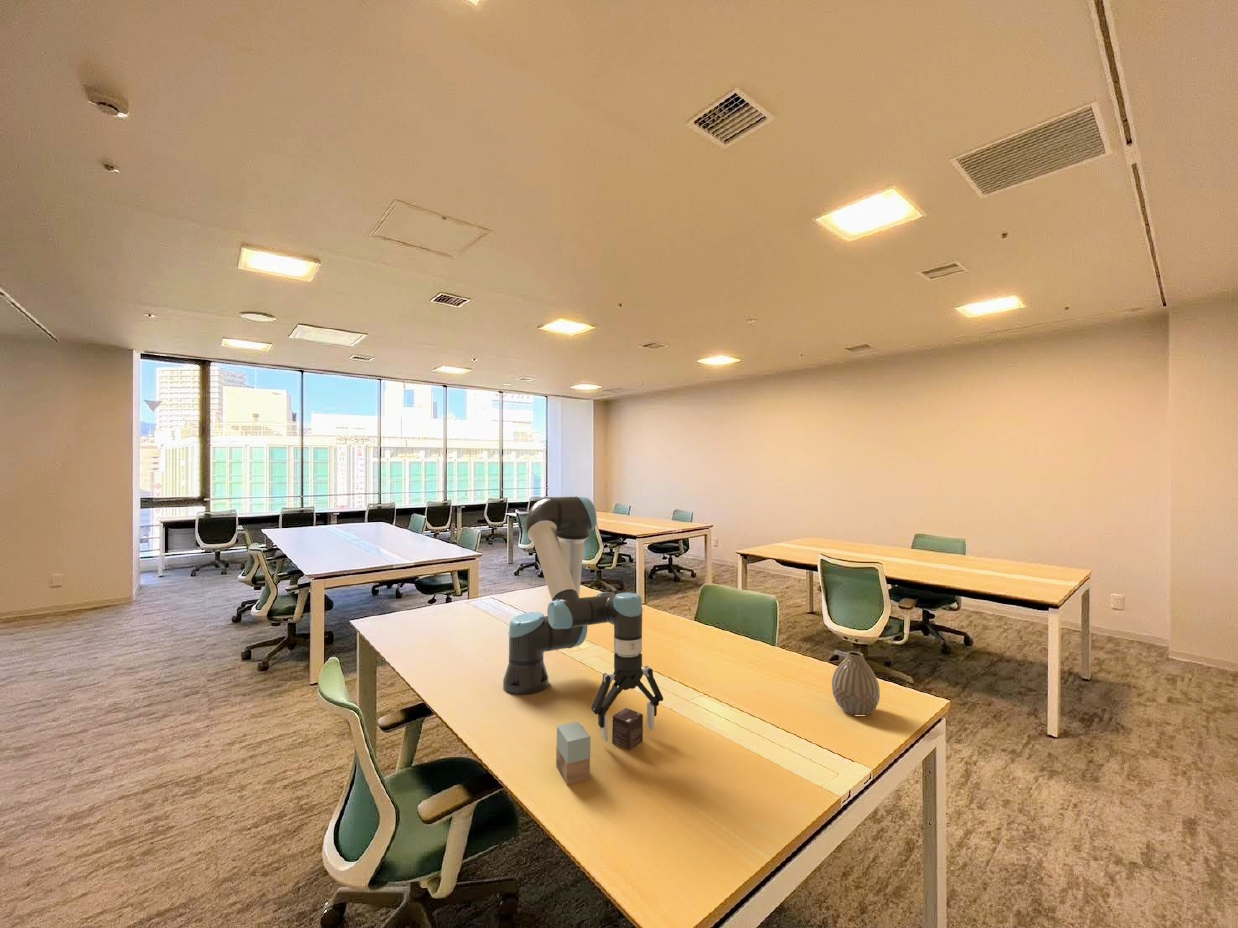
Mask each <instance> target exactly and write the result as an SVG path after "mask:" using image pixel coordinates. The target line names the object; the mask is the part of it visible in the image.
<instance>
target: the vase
mask: <svg viewBox="0 0 1238 928" xmlns="http://www.w3.org/2000/svg"><path fill="white" fill-rule="evenodd" d="M831 689H832V695H833V697H834V699H835V702H836V703H837V705H838V706H839V707H840V709H842V711H844V712H845V713H846V712H847V713H846V714H848V713H849V714H848V715H850V714H852V715H851V716H853V715H867V716H869V715H870V714H872V713H874V711H875V710H876V709H877V706H878V705H879V702H880V695H881V693H880V692H881V690H880V684H879V680H878V678H877V677H876V674H875V673H874V671H873V670H872V668H871V666H870V665H869V664H868V663H867V661H866V660H865V657H864V654H863V653H861V652H859V651H854V650H850V651H847V652H846V656H845V658H844V659H843V660H842V661H841V662H840V663H839V664H838V666H837V667H836V669H835V670H834V672H833V675H832V679H831Z"/></svg>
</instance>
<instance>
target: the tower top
mask: <svg viewBox="0 0 1238 928" xmlns="http://www.w3.org/2000/svg"><path fill="white" fill-rule="evenodd" d="M556 746H557V748H558V750H559V751H560V753H561V754H562V756H563V757H564V759H565V761H566V762H567V764H569V763H573V762H577V761H581V760H585V759H589V758H590V759H591V735H590V734H589V733H588V731H587V730H586V729H585V728H584V726H583V725H582V724H581V722H580V721H579V720H577V721H573V722H569V723H564V724H559V725H557V726H556Z"/></svg>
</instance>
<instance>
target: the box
mask: <svg viewBox="0 0 1238 928" xmlns="http://www.w3.org/2000/svg"><path fill="white" fill-rule="evenodd" d="M611 725H612V732H611V733H612V736H611V737H612V739H611V742H612V744H614V745H616V746H619V747H621V748H623V749H625V750H628V751H631V750H632V749H634V748H636V746H638V745H639V744H641V743H642V742H644V741H643V740H644V739H643V738H644V735H643V734H644V733H643V731H644V714H643V713H641V712H638V711H635V710H633V709H630V708H628V707H624V708H623V709H622V710H620V711H618V712H617V713H614V714H613V715H612V724H611Z"/></svg>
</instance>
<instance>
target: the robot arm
mask: <svg viewBox="0 0 1238 928" xmlns="http://www.w3.org/2000/svg"><path fill="white" fill-rule="evenodd" d="M597 520H598V519H597V512H596V507H595V505H594V503H593V501H592V500H591V499H590V498H588V497H584V496H583V497H582V496H578V495H577V496H559V497H558V496H556V497H555V496H548V497H547V496H546V497H544V498H540V499H539V500H538V501H536V502H535V503H534V504H533V505H532V506H531V508H530V509H529V510H528V512H527V515H526V519H525V531H526V534H527V537H528V539H529V540H530V541H531V542H533V546H534V548H535V552H536V554H537V559H538V561H539V562H538V563H540V568H541V571H542V573H543V577H544V579H545V584H546V586H547V590H548V593H549V596H550V598H551V599H550V600H551V601H550V602H549V603H548V604H547V605H548V606H547V608H546V609H547V610H546V611H547V613H546V614H547V615H544V614H543V613H542V612H539V611H534V612H526V613H521V614H518V615H517V616H515V617H513V618H512V619H511V620H510V623H509V628H508V629H509V630H508V664H507V667H506V670H505V673H504V676H503V679H502V686H503V687H502V688H503V690H504V691H506V692H508V693H510V694H514V695H530V694H535V693H538V692H541V691H544V690H545V689H546V688H547V687H548V686H549V675H548V672H547V669H546V668H547V667H546V666H545V662H544V655H545V654H544V653H545V652H553V651H558V650H563V649H572V648H575V647H579V646H581V645H582V644H583V643H584V642H585V640H586V638H587V634H588V626H591V625H600V624H605V623H609V624H611V625H612V626H613V627H614V628H613V635H614V636H613V652H614V654H613V669H614V670H613V674H610V673H609V674H608V673H606V672H604V673H603V675H602V682H601V684H600V686H599V688H598V691H597V693H596V696H595V698H594V701H593V703H592V706H591V708H590V711H592V713H594V715H595V716H596V715H597V724H598V726H599V727H600V729H601V731H600V732H601V733H600V736H601V738H602V739H603V741H604V742H608V741H609V715H608V714H607V712H608V710H609V709H610V708H611V706H612V705H613V703H614V701H615V700H616V699H617V697H618V696H619V694H621V693H622V691H628V690H630V689H632V690H634V689H636V687H637V688H638V690H640V691H641V692H642V694H643V696H644V695H645V697H646V699H648V700H649V702H648V701H647V702H646V726H647V728H648V729H649V730H650V731H651V732H653V731H655V717H656V716H657V714H658V713H657V710H658V706H659V704H660V702H663V701H664V697H663V694H662V692H661V690H660V688H659V686H658V683H657V682H656V680H655V677H654V671H653V669H652V668H651V667H649V666H648V665H646V666H644V668H642V667H643V654H642V651H643V611H644V609H643V603H642V601H643V600H642V599H643V598H642V596H641V595H640V594H638V593H635V592H634V593H633V592H620V593H617V594H615V593H612V592H607V591H603V592H600V593H598V594H596V595H595V596H587V597H580V593H581V579H582V567H583V555H584V545H585V541H586V540H588V539H589V537H590V536H589V535H590V531H591V532H592V531H594V530H595V528H596V526H597V522H598V521H597ZM643 676H644V677H646V680H647V683H648V684H649V686H650V688H651V690H652V692H653V694H654V696H653V694H652V693H651V692H650V691H649V690H648V689H647V687H646V686H645V685H644V683H643V682H642V681H641V679H642V678H643ZM613 681H614V682H613ZM612 682H613V683H612ZM611 684H612V685H611ZM610 686H611V688H610ZM609 688H610V690H609Z"/></svg>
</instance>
